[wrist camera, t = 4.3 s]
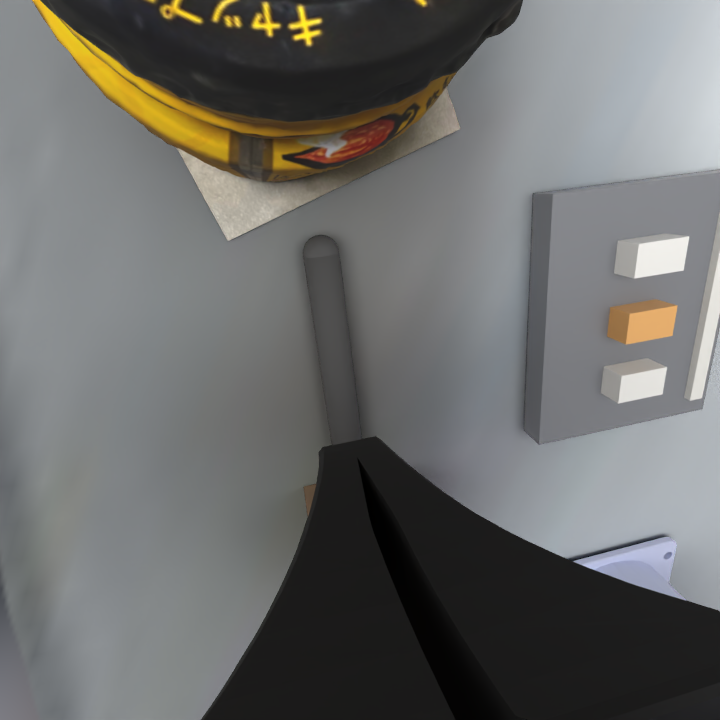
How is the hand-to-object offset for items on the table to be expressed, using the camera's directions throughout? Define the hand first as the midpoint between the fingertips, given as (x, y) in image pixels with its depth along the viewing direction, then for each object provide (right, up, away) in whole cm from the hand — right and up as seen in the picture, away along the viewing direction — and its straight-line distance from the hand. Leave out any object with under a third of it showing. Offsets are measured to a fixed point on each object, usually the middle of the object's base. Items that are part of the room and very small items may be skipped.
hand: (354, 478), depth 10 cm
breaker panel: (+11, +5, +9) cm, 15 cm away
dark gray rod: (-1, +3, +7) cm, 7 cm away
